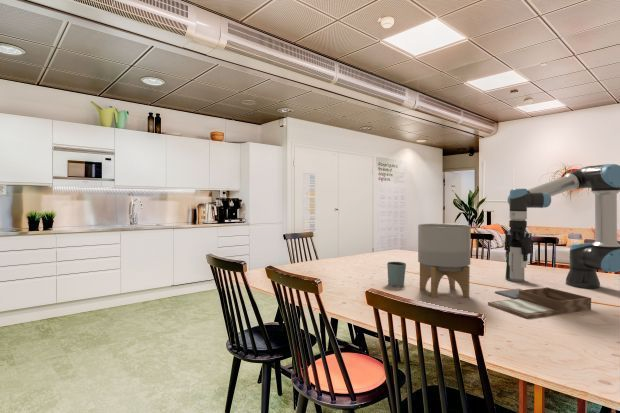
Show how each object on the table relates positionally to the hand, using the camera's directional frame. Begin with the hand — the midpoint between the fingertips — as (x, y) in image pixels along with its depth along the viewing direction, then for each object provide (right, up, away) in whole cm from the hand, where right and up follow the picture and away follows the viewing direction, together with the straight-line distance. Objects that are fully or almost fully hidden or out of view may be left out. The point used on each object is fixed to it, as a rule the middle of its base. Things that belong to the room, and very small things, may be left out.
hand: (517, 266), depth 182 cm
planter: (-35, -14, +4) cm, 38 cm away
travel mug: (0, -7, 0) cm, 7 cm away
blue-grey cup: (-55, -14, +22) cm, 61 cm away
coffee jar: (+17, -14, +32) cm, 39 cm away
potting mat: (0, -14, 0) cm, 14 cm away
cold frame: (-2, -15, -21) cm, 25 cm away
